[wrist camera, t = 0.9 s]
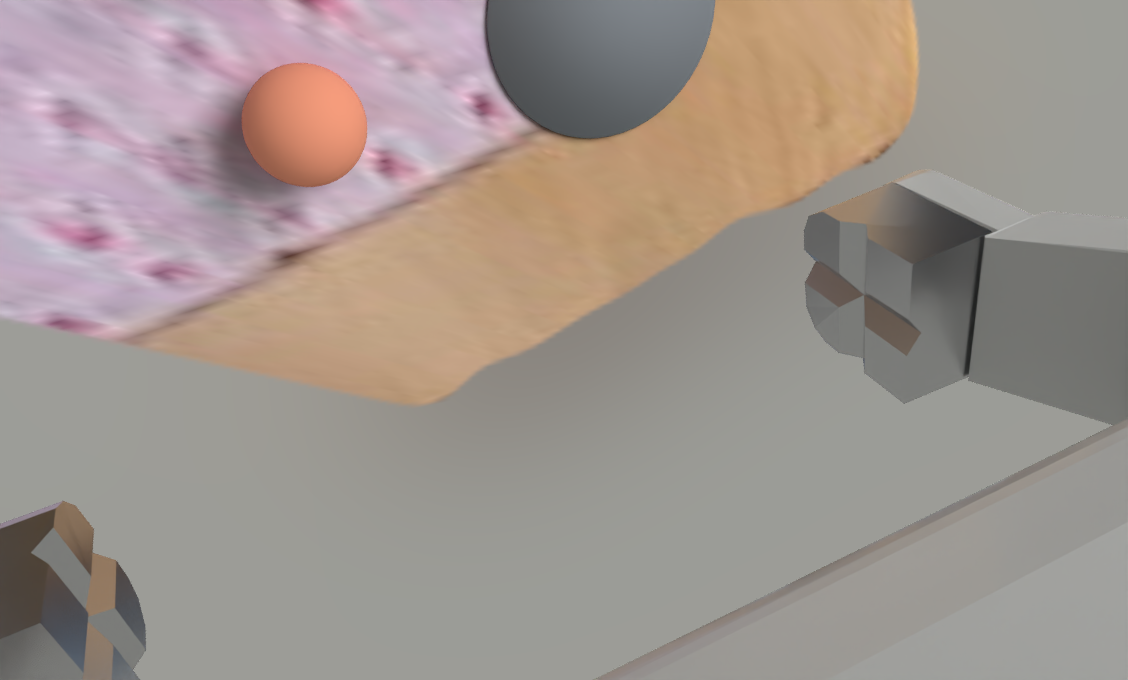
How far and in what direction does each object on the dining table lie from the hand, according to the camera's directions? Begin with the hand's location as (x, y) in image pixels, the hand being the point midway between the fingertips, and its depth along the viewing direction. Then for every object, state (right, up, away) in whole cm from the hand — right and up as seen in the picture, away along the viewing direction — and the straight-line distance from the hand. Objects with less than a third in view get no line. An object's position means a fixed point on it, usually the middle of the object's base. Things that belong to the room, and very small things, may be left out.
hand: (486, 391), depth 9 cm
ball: (-11, +10, +30) cm, 34 cm away
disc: (+3, +17, +36) cm, 40 cm away
